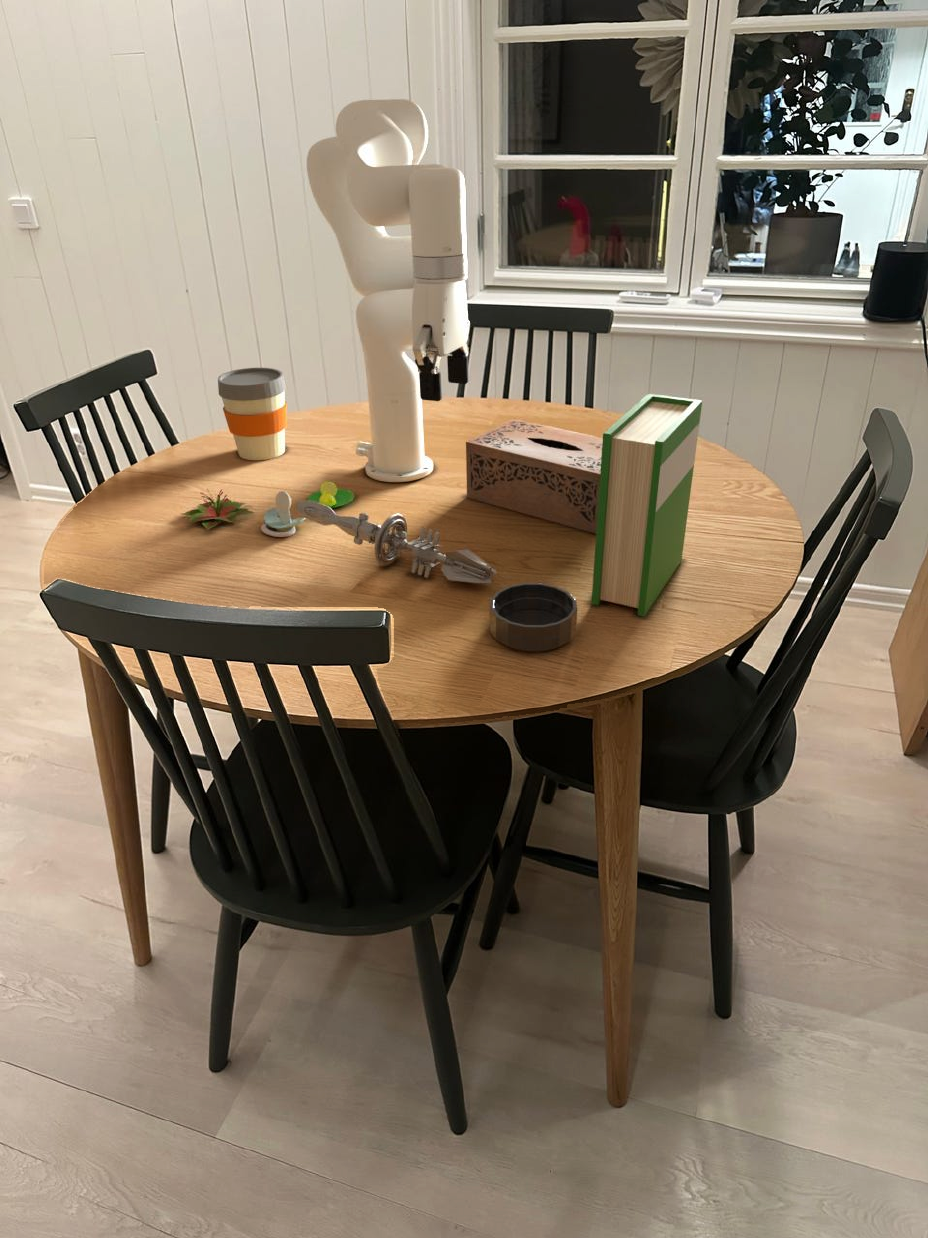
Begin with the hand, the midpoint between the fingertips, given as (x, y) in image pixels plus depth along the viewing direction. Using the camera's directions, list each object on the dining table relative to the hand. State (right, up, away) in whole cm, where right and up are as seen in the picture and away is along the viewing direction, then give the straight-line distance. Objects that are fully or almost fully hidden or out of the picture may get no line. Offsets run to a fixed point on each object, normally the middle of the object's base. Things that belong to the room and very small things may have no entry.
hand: (445, 391), depth 126 cm
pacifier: (-27, -20, +10) cm, 35 cm away
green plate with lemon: (-20, -14, +20) cm, 32 cm away
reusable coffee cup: (-37, -1, +41) cm, 55 cm away
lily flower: (-38, -17, +15) cm, 45 cm away
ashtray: (+12, -36, -17) cm, 41 cm away
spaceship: (-8, -26, 0) cm, 27 cm away
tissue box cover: (+18, -14, +18) cm, 29 cm away
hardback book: (+28, -29, -6) cm, 40 cm away
